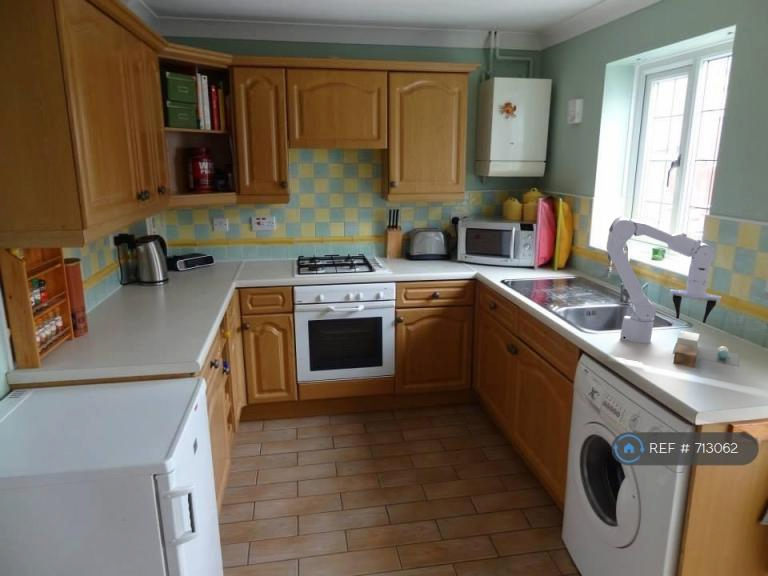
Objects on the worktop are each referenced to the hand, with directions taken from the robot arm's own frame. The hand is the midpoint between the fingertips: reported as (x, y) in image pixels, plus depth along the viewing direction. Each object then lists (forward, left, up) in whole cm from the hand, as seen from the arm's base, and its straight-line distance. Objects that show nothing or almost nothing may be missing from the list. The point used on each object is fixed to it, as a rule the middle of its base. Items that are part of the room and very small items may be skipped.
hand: (690, 320), depth 177 cm
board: (+6, -6, -10) cm, 13 cm away
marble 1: (+10, -4, -9) cm, 14 cm away
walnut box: (+1, -17, -10) cm, 20 cm away
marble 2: (+10, -8, -9) cm, 16 cm away
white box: (0, -6, -9) cm, 11 cm away
